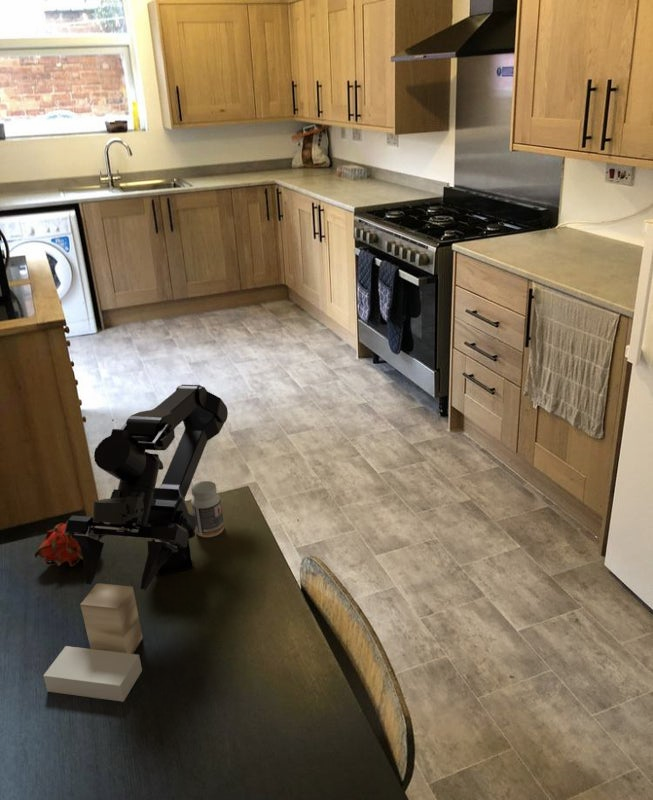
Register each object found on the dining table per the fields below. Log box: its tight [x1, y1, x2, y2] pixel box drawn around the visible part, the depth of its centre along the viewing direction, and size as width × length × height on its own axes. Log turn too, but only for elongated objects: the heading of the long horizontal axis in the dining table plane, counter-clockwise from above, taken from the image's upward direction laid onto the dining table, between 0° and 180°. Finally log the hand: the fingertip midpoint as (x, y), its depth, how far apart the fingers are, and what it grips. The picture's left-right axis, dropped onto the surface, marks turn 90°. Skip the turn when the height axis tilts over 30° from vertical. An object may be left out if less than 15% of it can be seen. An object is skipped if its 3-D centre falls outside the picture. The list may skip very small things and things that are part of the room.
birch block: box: [80, 582, 144, 654], centre depth 107 cm, size 5×6×10 cm
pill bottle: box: [190, 480, 225, 538], centre depth 136 cm, size 6×6×10 cm
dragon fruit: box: [34, 522, 100, 567], centre depth 130 cm, size 8×8×12 cm
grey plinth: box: [42, 645, 143, 703], centre depth 102 cm, size 6×12×3 cm, turn 78°
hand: (115, 587), depth 108 cm, fingers open, 9 cm apart
